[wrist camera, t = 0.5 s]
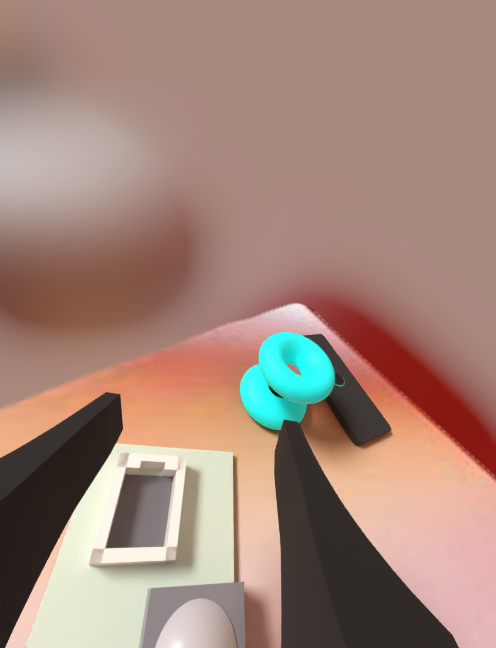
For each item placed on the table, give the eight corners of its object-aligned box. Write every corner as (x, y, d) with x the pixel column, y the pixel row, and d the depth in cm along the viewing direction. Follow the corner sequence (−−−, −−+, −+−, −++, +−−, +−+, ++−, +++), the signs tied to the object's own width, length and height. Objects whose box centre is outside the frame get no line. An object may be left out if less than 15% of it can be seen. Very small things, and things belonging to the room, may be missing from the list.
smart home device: (323, 333, 51) (394, 428, 40) (318, 338, 52) (386, 433, 41) (291, 336, 47) (360, 444, 36) (287, 342, 48) (352, 448, 37)
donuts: (352, 370, 32) (312, 413, 26) (312, 408, 39) (272, 449, 32) (295, 318, 36) (247, 343, 29) (267, 361, 42) (223, 389, 36)
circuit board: (232, 744, 17) (235, 749, 16) (-31, 810, 13) (-37, 819, 13) (230, 454, 30) (232, 452, 29) (98, 445, 26) (98, 442, 25)
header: (171, 562, 21) (175, 559, 20) (90, 566, 20) (88, 563, 18) (183, 464, 27) (187, 456, 25) (120, 460, 25) (120, 452, 24)
